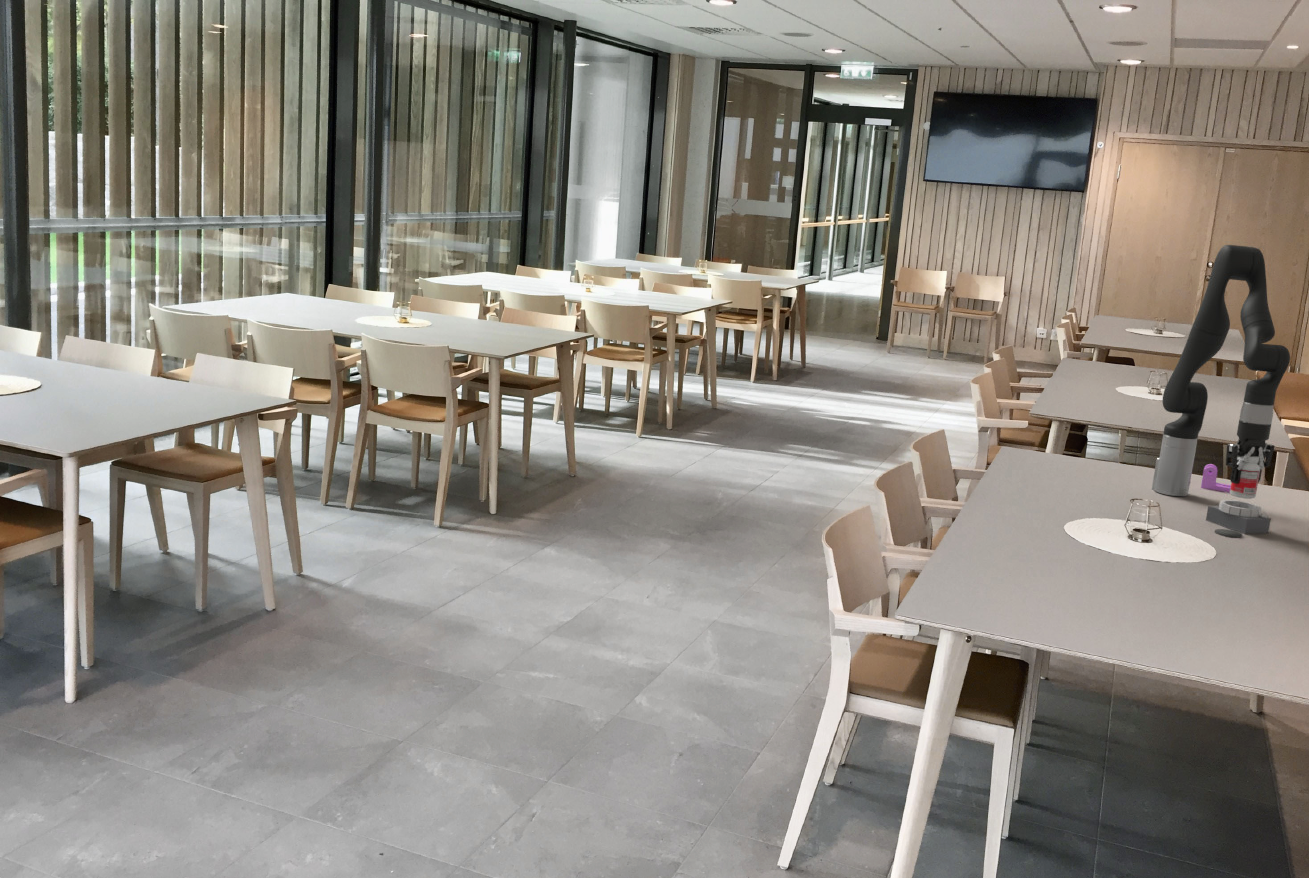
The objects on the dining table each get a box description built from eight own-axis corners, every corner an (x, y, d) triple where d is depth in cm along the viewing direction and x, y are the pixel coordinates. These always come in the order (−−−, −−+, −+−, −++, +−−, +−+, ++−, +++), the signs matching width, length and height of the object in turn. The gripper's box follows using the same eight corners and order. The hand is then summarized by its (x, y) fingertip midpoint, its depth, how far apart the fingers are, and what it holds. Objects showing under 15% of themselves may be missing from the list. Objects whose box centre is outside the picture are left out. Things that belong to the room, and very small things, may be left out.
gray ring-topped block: (1203, 520, 304) (1207, 498, 303) (1231, 519, 307) (1234, 497, 306) (1242, 534, 292) (1246, 511, 291) (1270, 532, 295) (1274, 510, 294)
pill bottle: (1235, 492, 302) (1242, 451, 300) (1259, 497, 297) (1266, 456, 295) (1225, 494, 298) (1232, 453, 296) (1249, 500, 294) (1256, 458, 291)
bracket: (1200, 488, 344) (1204, 466, 343) (1201, 484, 349) (1205, 463, 348) (1248, 495, 339) (1252, 473, 337) (1248, 492, 343) (1252, 469, 342)
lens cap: (1208, 532, 293) (1209, 529, 293) (1227, 531, 295) (1228, 528, 295) (1228, 539, 287) (1228, 536, 287) (1247, 538, 289) (1248, 535, 289)
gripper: (1264, 417, 300) (1253, 478, 303) (1222, 417, 295) (1212, 479, 298) (1288, 423, 293) (1277, 485, 296) (1245, 423, 288) (1234, 486, 291)
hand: (1244, 482), depth 297 cm, fingers closed on pill bottle, 6 cm apart
